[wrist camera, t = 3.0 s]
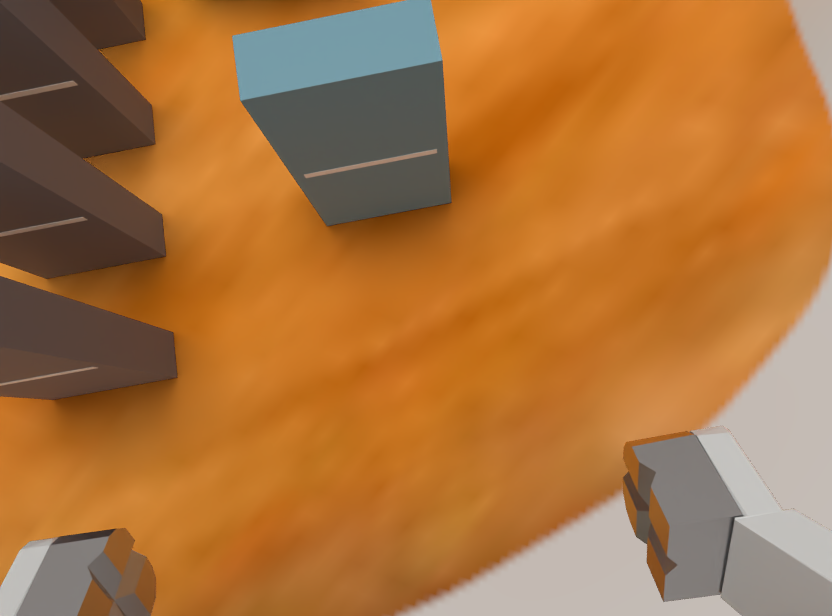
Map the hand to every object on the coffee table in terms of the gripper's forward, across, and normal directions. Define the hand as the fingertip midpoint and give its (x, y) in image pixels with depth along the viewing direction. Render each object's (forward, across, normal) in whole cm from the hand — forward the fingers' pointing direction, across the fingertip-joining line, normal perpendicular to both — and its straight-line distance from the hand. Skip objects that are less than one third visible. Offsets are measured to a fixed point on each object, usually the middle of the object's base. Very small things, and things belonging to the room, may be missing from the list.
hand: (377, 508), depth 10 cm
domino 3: (+19, +13, +3) cm, 24 cm away
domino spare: (+19, 0, +3) cm, 20 cm away
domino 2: (+16, +13, +7) cm, 21 cm away
